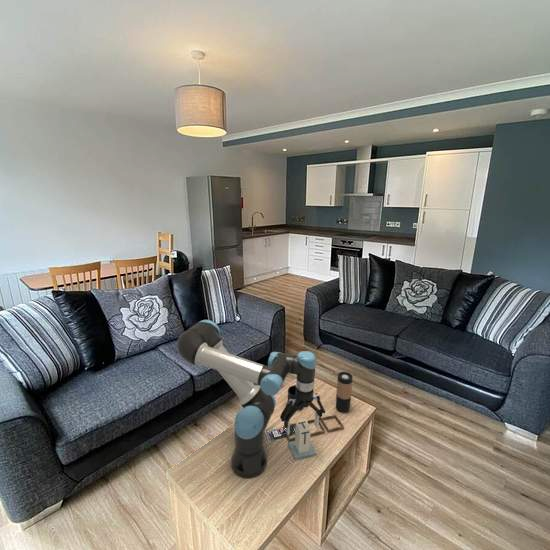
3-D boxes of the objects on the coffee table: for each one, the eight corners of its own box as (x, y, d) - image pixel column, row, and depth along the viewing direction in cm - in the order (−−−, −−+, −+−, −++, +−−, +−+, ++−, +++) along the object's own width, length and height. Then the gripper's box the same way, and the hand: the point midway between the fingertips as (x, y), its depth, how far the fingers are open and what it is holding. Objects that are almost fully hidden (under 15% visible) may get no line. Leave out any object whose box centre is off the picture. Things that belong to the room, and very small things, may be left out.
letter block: (298, 453, 127) (299, 430, 124) (294, 444, 131) (295, 422, 128) (309, 451, 128) (310, 428, 125) (305, 442, 133) (306, 419, 130)
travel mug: (334, 403, 160) (336, 371, 155) (348, 404, 160) (351, 371, 155) (336, 413, 153) (339, 379, 148) (351, 413, 152) (354, 380, 148)
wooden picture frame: (288, 441, 134) (288, 438, 134) (283, 428, 142) (283, 425, 142) (305, 437, 136) (306, 435, 136) (299, 424, 144) (299, 422, 144)
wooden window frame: (308, 437, 137) (308, 434, 137) (302, 424, 145) (302, 421, 144) (325, 433, 139) (325, 430, 139) (317, 420, 147) (317, 418, 147)
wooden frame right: (328, 432, 140) (328, 430, 139) (320, 420, 148) (320, 417, 147) (343, 429, 142) (343, 426, 142) (335, 417, 150) (335, 414, 150)
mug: (311, 403, 160) (312, 388, 158) (296, 413, 152) (297, 398, 150) (298, 395, 167) (299, 381, 164) (283, 404, 159) (284, 390, 156)
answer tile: (295, 460, 124) (295, 458, 124) (288, 444, 133) (288, 442, 132) (316, 455, 127) (316, 453, 127) (308, 439, 136) (308, 437, 135)
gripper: (279, 397, 115) (277, 441, 120) (335, 388, 122) (331, 430, 127) (273, 386, 122) (272, 428, 127) (327, 378, 129) (324, 418, 134)
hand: (302, 429), depth 127 cm, fingers open, 13 cm apart
